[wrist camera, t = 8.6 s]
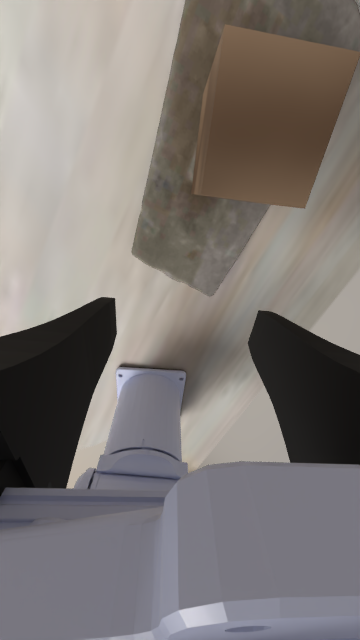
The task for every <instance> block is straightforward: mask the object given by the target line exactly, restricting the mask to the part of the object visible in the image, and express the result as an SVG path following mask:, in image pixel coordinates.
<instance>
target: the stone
mask: <svg viewBox="0 0 360 640" xmlns="http://www.w3.org/2000/svg"><path fill="white" fill-rule="evenodd" d="M225 24H226V25H231V26H236V27H241V28H246V29H250V30H255V31H260V32H265V33H270V34H275V35H280V36H285V37H290V38H295V39H299V40H304V41H309V42H314V43H319V44H324V45H329V46H334V47H339V48H343V49H348V50H353V51H358V52H360V14H359V10H358V7H357V4H356V2H355V1H354V0H185V5H184V10H183V14H182V19H181V23H180V28H179V34H178V39H177V44H176V48H175V52H174V56H173V61H172V67H171V71H170V76H169V81H168V85H167V90H166V94H165V99H164V103H163V108H162V114H161V118H160V123H159V127H158V132H157V136H156V142H155V146H154V150H153V155H152V160H151V165H150V169H149V174H148V179H147V183H146V187H145V191H144V196H143V200H142V209H141V213H140V216H139V220H138V224H137V229H136V233H135V238H134V243H133V248H132V254H133V255H134V256H135V257H136V258H138V259H139V260H141V261H142V262H143V263H145V264H147V265H149V266H151V267H152V268H155V269H157V270H160V271H162V272H163V273H165V274H166V275H167V276H169V277H170V278H172V279H174V280H176V281H179V282H183V283H186V284H188V285H189V286H190V287H192V288H195V289H197V290H199V291H201V292H202V293H204V294H205V295H208V296H213V295H214V293H215V292H216V290H217V289H218V287H219V286H220V284H221V283H222V281H223V279H224V277H225V275H226V274H227V272H228V271H229V270H230V268H231V267H232V266H233V264H234V263H235V261H236V259H237V258H238V256H239V255H240V253H241V252H242V250H243V248H244V247H245V245H246V243H247V241H248V240H249V238H250V236H251V235H252V233H253V231H254V230H255V229H256V227H257V226H258V224H259V222H260V220H261V219H262V217H263V216H264V214H265V212H266V211H267V209H268V207H269V206H270V204H261V203H253V202H246V201H238V200H231V199H223V198H216V197H208V196H201V195H193V194H191V190H192V181H193V173H194V165H195V156H196V148H197V140H198V132H199V123H200V115H201V107H202V99H203V93H204V90H205V87H206V83H207V80H208V77H209V74H210V71H211V67H212V64H213V61H214V58H215V55H216V52H217V48H218V45H219V42H220V39H221V36H222V32H223V29H224V26H225Z"/></svg>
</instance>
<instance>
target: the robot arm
mask: <svg viewBox="0 0 360 640" xmlns="http://www.w3.org/2000/svg"><path fill="white" fill-rule="evenodd" d="M116 334H117V329H116V309H115V298H106V297H101V298H98V299H96V300H94V301H92V302H90V303H88V304H86V305H84V306H82V307H80V308H78V309H76V310H74V311H72V312H70V313H68V314H66V315H63V316H61V317H59V318H57V319H54V320H52V321H50V322H47V323H44V324H41V325H39V326H36V327H33V328H30V329H27V330H23V331H20V332H16V333H12V334H9V335H5V336H2V337H0V640H360V355H358V354H356V353H354V352H351V351H349V350H347V349H344V348H342V347H339V346H337V345H335V344H333V343H331V342H328V341H327V340H325V339H323V338H321V337H319V336H316V335H315V334H313V333H311V332H309V331H307V330H305V329H304V328H302V327H300V326H298V325H296V324H295V323H293V322H291V321H289V320H287V319H285V318H284V317H282V316H280V315H278V314H275V313H273V312H270V311H258V314H257V317H256V320H255V323H254V326H253V329H252V332H251V335H250V338H249V341H248V345H249V349H250V353H251V356H252V359H253V362H254V364H255V366H256V368H257V371H258V373H259V375H260V377H261V379H262V381H263V383H264V386H265V388H266V390H267V392H268V394H269V396H270V399H271V401H272V404H273V406H274V409H275V412H276V415H277V418H278V421H279V424H280V428H281V431H282V434H283V438H284V441H285V444H286V448H287V452H288V456H289V459H290V463H279V462H245V461H239V462H230V463H221V464H213V465H207V466H204V467H202V468H200V469H197V470H195V471H193V472H190V473H188V464H187V463H186V462H182V456H181V424H180V410H181V404H182V398H183V392H184V386H185V380H186V372H184V371H177V370H161V369H145V368H128V367H119V368H117V370H116V381H117V398H118V402H117V406H116V410H115V414H114V417H113V421H112V425H111V429H110V432H109V436H108V440H107V444H106V447H105V451H104V455H101V456H100V460H99V462H98V466H97V469H94V468H88V469H87V470H86V472H85V473H84V474H82V475H81V476H80V477H79V478H78V480H77V482H76V484H75V486H74V488H73V489H66V486H67V483H68V479H69V475H70V471H71V467H72V463H73V460H74V456H75V452H76V449H77V445H78V441H79V438H80V434H81V431H82V428H83V424H84V421H85V418H86V414H87V411H88V408H89V405H90V402H91V399H92V395H93V393H94V390H95V388H96V385H97V383H98V381H99V379H100V376H101V374H102V372H103V370H104V367H105V365H106V363H107V361H108V358H109V356H110V354H111V351H112V349H113V345H114V342H115V338H116ZM120 374H122V375H120Z"/></svg>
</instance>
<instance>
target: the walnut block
mask: <svg viewBox="0 0 360 640" xmlns="http://www.w3.org/2000/svg"><path fill="white" fill-rule="evenodd" d="M359 57H360V52H358V51H353V50H348V49H343V48H339V47H334V46H329V45H324V44H319V43H314V42H309V41H304V40H299V39H295V38H290V37H285V36H280V35H275V34H270V33H265V32H260V31H255V30H250V29H246V28H241V27H236V26H231V25H226V24H225V26H224V29H223V32H222V36H221V39H220V42H219V45H218V48H217V52H216V55H215V58H214V61H213V64H212V67H211V71H210V74H209V77H208V80H207V83H206V87H205V90H204V93H203V99H202V107H201V115H200V123H199V132H198V140H197V148H196V156H195V165H194V173H193V181H192V190H191V194H193V195H201V196H208V197H216V198H223V199H231V200H238V201H246V202H253V203H261V204H270V205H279V206H288V207H297V208H305V206H306V204H307V201H308V198H309V195H310V193H311V190H312V187H313V184H314V182H315V179H316V176H317V173H318V171H319V168H320V165H321V162H322V159H323V157H324V154H325V151H326V148H327V146H328V143H329V140H330V137H331V135H332V132H333V129H334V126H335V124H336V121H337V118H338V115H339V112H340V110H341V107H342V104H343V101H344V99H345V96H346V93H347V90H348V88H349V85H350V82H351V79H352V77H353V74H354V71H355V68H356V65H357V63H358V60H359Z"/></svg>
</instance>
